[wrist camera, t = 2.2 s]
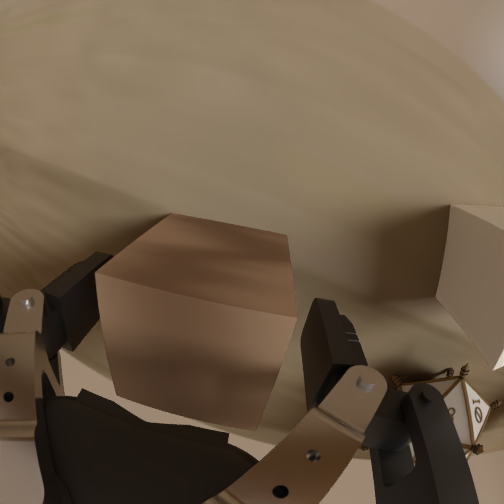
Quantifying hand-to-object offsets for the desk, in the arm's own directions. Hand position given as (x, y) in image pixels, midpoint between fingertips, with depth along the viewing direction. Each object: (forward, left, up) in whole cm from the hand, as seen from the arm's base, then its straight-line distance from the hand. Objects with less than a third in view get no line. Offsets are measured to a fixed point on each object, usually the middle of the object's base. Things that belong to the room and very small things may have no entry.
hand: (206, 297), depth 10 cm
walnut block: (0, 0, -2) cm, 2 cm away
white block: (-13, -4, -2) cm, 14 cm away
